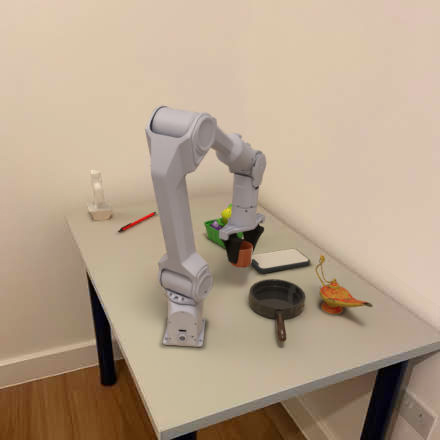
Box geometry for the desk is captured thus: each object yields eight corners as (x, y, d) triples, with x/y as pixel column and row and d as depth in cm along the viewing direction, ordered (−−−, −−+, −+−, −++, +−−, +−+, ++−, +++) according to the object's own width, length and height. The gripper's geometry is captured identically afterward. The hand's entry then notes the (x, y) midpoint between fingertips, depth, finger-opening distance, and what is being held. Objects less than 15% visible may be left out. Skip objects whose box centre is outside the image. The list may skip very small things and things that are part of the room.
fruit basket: (202, 237, 133) (202, 202, 127) (225, 231, 138) (226, 196, 132) (225, 252, 126) (227, 214, 120) (248, 244, 130) (251, 208, 124)
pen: (117, 232, 134) (117, 229, 133) (155, 213, 148) (155, 209, 147) (119, 233, 133) (119, 229, 133) (157, 213, 148) (157, 210, 147)
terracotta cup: (251, 269, 104) (253, 250, 101) (228, 268, 104) (229, 249, 101) (251, 258, 108) (252, 241, 106) (229, 257, 108) (230, 239, 106)
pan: (306, 322, 98) (308, 310, 96) (249, 318, 98) (250, 306, 97) (300, 291, 109) (301, 280, 107) (248, 288, 109) (249, 277, 107)
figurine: (91, 224, 139) (85, 177, 131) (87, 213, 146) (81, 167, 138) (114, 221, 141) (110, 175, 133) (109, 210, 148) (104, 166, 140)
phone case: (294, 252, 128) (245, 260, 122) (294, 247, 127) (245, 254, 121) (311, 266, 121) (260, 275, 115) (312, 261, 120) (261, 269, 114)
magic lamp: (353, 336, 94) (364, 293, 88) (300, 296, 107) (307, 255, 101) (376, 328, 97) (388, 285, 91) (322, 289, 110) (329, 250, 104)
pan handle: (274, 313, 98) (275, 307, 97) (282, 314, 98) (283, 307, 97) (277, 343, 89) (278, 337, 88) (286, 344, 89) (287, 337, 88)
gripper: (250, 191, 105) (246, 243, 112) (209, 207, 96) (207, 262, 103) (274, 199, 101) (268, 252, 108) (234, 216, 92) (231, 273, 99)
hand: (240, 258), depth 105 cm, fingers closed on terracotta cup, 5 cm apart
